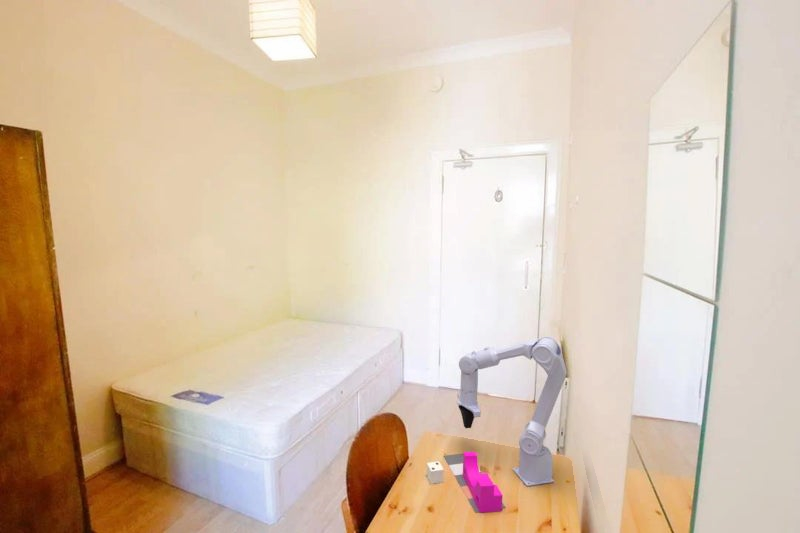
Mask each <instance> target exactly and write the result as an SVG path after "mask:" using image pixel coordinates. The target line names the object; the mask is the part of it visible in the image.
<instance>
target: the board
mask: <svg viewBox="0 0 800 533" xmlns="http://www.w3.org/2000/svg"><path fill="white" fill-rule="evenodd" d="M443 459H444V460H445V462H446V464H447V465H448V467H449V469H450V471H451V473H452V474H453V475H454V478H455V477H456V478H455V479H456V481H457V483H458V485H459V486H460V488H461V490H462V492H463V493H464V495H465V497H466V499H467V501H468V502H469V504H470V506H471V508H472V510H473V512H474V513H475V514H478V513H480V512H479V510H478V508H477V506H476V503H475V501H474V499H473V497H472V495H471V492H470V490H469V488H468V486H467V484H466V481H465V479H464V477H463V453H462V452H461V453H457V454H448V455H446V454H445V455H444V456H443ZM479 472H480V474H481V473H482V471H481V469H480V468H479ZM502 509H506V505H505V504H504V503H503V502H502Z"/></svg>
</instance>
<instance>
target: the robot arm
mask: <svg viewBox="0 0 800 533" xmlns="http://www.w3.org/2000/svg"><path fill="white" fill-rule="evenodd" d="M522 356H523V357H525V358H527V359H528V360H532V359H533V360H534V361H535V362H536V363H537V365H539V366H540V367H541V368H542V369H543V370H544V371H545V373H546V374H547V376H546V380H545V382H544V385H543V388H542V391H541V393H540V396H539V398H538V401H537V403H536V406H535V408H534V410H533V414H532V417H531V418H530V420H529V421H530V422H528V423H527V424H526V425H525V426H524V430H523V432H522V434H521V436H520V437H519V439H518V440H519V441H518V445H519V455H518V457H519V460H518V467H517V466H516V467H513V468H512V470H513V472H514V473H515V474H516V475H517V476H518V477H519V479H520V481H521V482H522V483H523V484H524V485H525V486H526V487H531V486H538V485H542V484H550V483H554V482H555V481H554V480H555V479H553V467H554V458H553V455H552V452H551V450H550V449H549V447H547V446H545V445H544V444H543V443H544V440H545V438H546V435H547V434H546V428H547V424H549V423H548V422H549V419H550V417H551V415H552V413H553V410H554V407H555V404H556V402H557V400H558V397H559V395H560V392H561V389H562V387H563V385H564V381H565V380H566V377H567V374H568V372H567V367H566V363H565V360H564V355H563V349H562V347H561V346H560V344H559V343H558V342H557V341H556V340H555V339H554V338H552V337H550V336H543V337H541V338H540V339H539V338H537V337H536V338H532V339H529V340H525V341H523V342H519V343H515V344H513V345H510V346H506V347H504V348H500V349H496V348H494V347H489V346H485V347H484V348H483V349H482V350H479V351H475V350H474V351H473V350H472V351H471V352H469V353H466V354H465V355H464V356H462V357H461V358H460V359H459V361H458V367H459V369H460V391H457V399H458V400H457V401H456V404H457V405H458V409H459V411H460V413H461V414H460V415H461V419H462V423H463V427H464V428H465V429H471V428H472V425H473V424H474V420H475V418H481V413H482V412H481V410H480V408H479V404H478V382H479V370H483V369H487V368H492V367H495V366H499V364H500V363H501V361H503V360H509V359H512V358H516V357H522Z"/></svg>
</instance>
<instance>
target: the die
mask: <svg viewBox="0 0 800 533" xmlns="http://www.w3.org/2000/svg"><path fill="white" fill-rule="evenodd" d="M444 472H445V471H444V467H443V466H442V464H441V462H440V461H431V462H430V461H429V462H427V463H426V477H427V479H428V481H429V484H430V485H432V484H439V483H444Z"/></svg>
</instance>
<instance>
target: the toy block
mask: <svg viewBox="0 0 800 533" xmlns="http://www.w3.org/2000/svg"><path fill="white" fill-rule="evenodd" d="M478 462H479V461H478V454H477V453H476V451H463V477H464V479H465V481H466V484H467V486H468V488H469V490H470V492H471V495H472V497H473V499H474V501H475V503H476V506H477V508H478V510H479V513H480V514H481V513H491V512H492V513H493V512H502V511H503V508H502V503H503V494H502V492H501V490H500V488H499V487H498V485H497V484H494V482H493V481H492V478H490V475H489V473H488V472H483V473H481V474H480V472H479V469H480V468H479V463H478Z"/></svg>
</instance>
